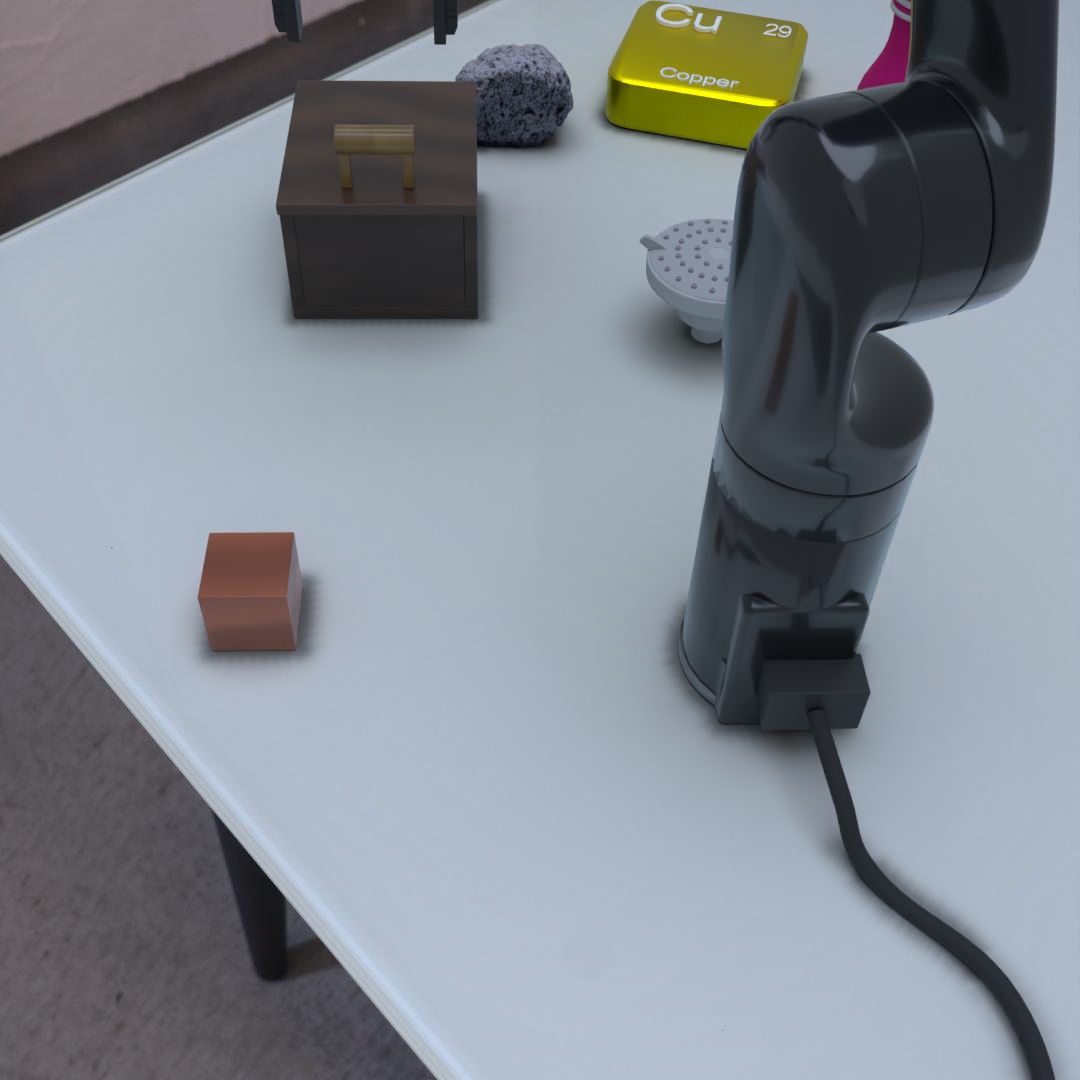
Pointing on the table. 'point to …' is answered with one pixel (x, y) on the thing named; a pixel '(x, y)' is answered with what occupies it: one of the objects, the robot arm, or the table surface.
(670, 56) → the element tile
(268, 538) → the block
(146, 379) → the table surface
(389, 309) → the chest
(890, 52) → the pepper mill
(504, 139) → the pumice stone
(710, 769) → the table surface
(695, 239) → the showerhead
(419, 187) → the lid
